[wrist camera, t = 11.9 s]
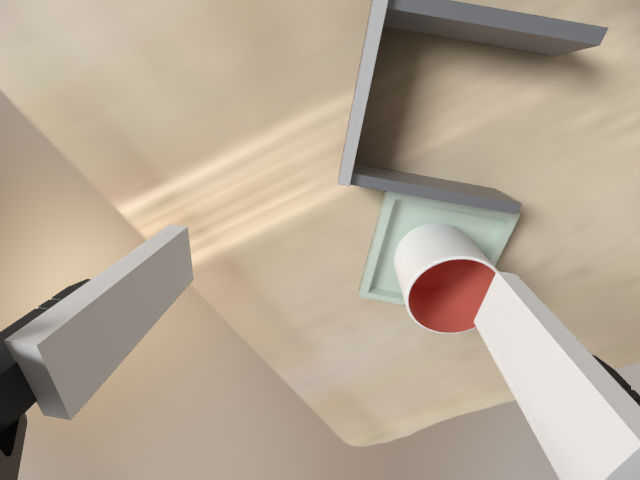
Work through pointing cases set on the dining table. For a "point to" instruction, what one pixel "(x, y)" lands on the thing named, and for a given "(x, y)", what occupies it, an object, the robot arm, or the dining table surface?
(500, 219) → the tray
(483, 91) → the dining table surface
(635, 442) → the robot arm
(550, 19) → the bay
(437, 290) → the cup
